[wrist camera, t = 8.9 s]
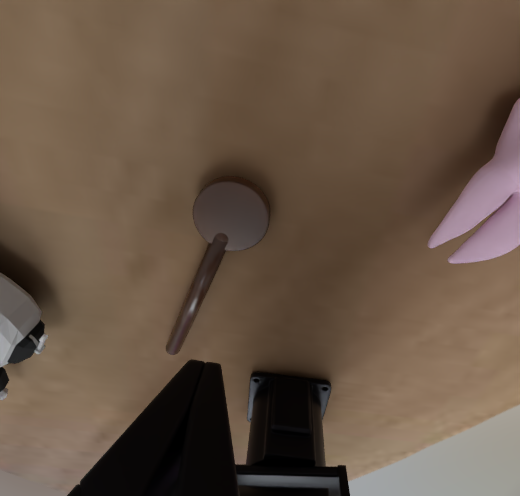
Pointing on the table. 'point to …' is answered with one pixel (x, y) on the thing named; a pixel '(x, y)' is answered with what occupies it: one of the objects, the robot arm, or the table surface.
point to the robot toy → (17, 328)
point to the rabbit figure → (488, 203)
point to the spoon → (221, 238)
